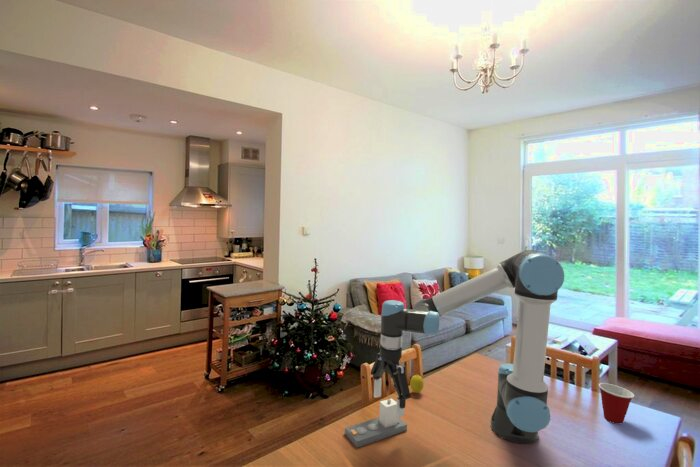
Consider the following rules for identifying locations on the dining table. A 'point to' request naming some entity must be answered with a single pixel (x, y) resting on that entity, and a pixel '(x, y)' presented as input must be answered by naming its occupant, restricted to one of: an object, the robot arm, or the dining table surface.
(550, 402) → the dining table surface
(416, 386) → the lemon
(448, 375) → the dining table surface
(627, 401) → the plastic cup
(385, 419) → the block
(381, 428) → the power strip
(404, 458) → the dining table surface
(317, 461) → the dining table surface
